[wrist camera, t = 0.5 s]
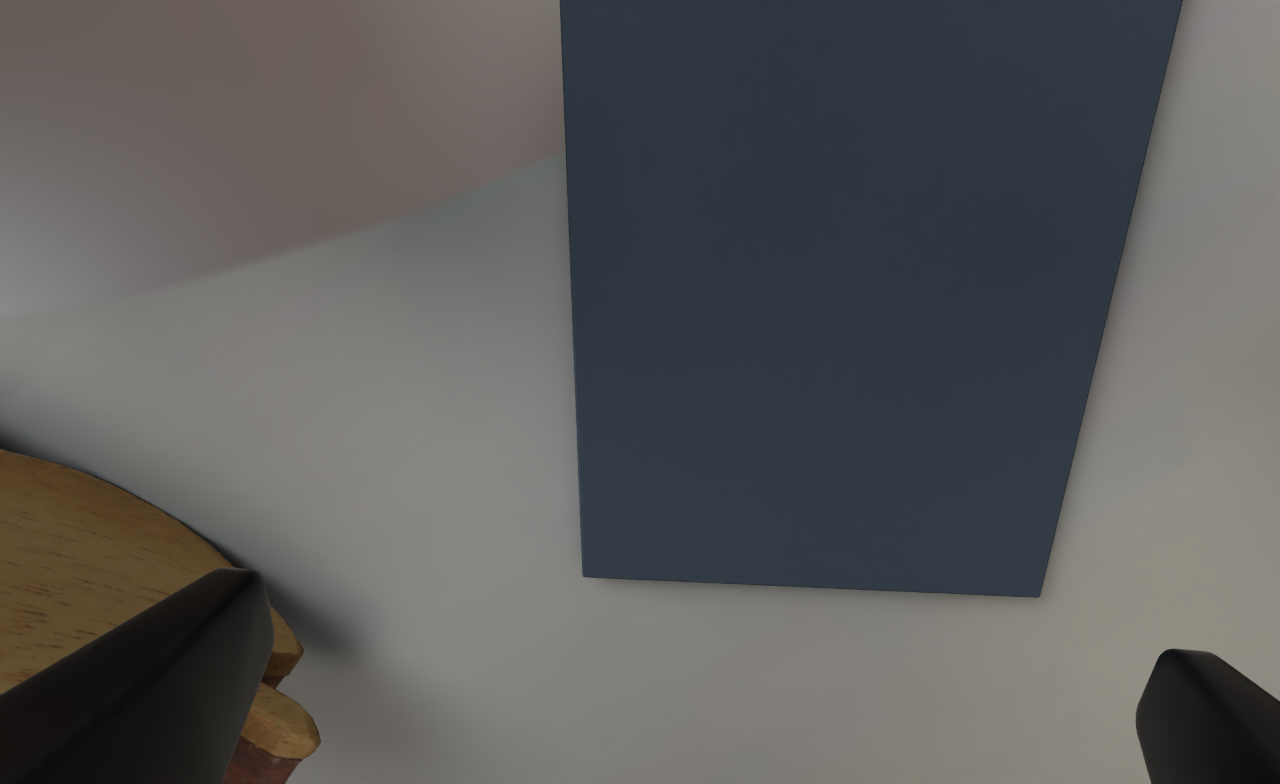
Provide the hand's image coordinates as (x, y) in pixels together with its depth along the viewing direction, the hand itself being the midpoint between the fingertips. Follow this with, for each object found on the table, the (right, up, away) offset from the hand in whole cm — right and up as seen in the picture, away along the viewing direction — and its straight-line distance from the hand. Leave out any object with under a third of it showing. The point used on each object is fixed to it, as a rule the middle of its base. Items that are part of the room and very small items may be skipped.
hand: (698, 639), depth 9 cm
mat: (+4, +6, +13) cm, 15 cm away
